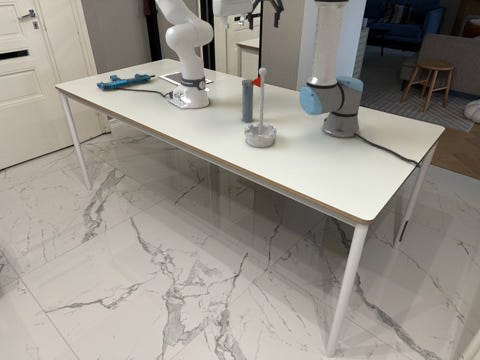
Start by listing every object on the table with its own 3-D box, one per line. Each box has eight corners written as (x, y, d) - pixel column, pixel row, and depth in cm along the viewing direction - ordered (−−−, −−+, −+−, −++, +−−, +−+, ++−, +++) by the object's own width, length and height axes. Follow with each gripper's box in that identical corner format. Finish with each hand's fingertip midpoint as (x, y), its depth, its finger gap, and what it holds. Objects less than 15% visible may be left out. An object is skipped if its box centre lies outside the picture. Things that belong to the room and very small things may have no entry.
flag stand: (267, 132, 148) (271, 61, 132) (281, 144, 138) (286, 70, 122) (240, 137, 144) (240, 65, 128) (252, 150, 134) (253, 74, 118)
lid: (239, 85, 150) (239, 81, 149) (245, 82, 154) (245, 78, 153) (250, 87, 148) (250, 83, 147) (255, 84, 151) (255, 80, 150)
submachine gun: (141, 68, 225) (159, 74, 208) (142, 74, 227) (160, 80, 210) (89, 78, 206) (104, 86, 190) (91, 84, 208) (106, 92, 192)
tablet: (158, 76, 219) (158, 76, 218) (184, 71, 230) (184, 70, 229) (185, 88, 198) (185, 88, 198) (213, 81, 209) (213, 81, 209)
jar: (240, 121, 159) (240, 82, 149) (245, 117, 162) (245, 79, 153) (249, 123, 157) (250, 84, 147) (254, 119, 161) (255, 81, 151)
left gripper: (244, -15, 136) (244, 23, 144) (209, -12, 123) (211, 29, 131) (256, -14, 133) (256, 24, 141) (222, -11, 120) (223, 31, 127)
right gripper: (284, -24, 159) (281, 25, 170) (236, -23, 150) (236, 29, 161) (293, -24, 153) (290, 27, 165) (244, -22, 144) (243, 31, 156)
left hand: (234, 27), depth 136 cm, fingers open, 8 cm apart
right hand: (263, 28), depth 163 cm, fingers open, 13 cm apart
